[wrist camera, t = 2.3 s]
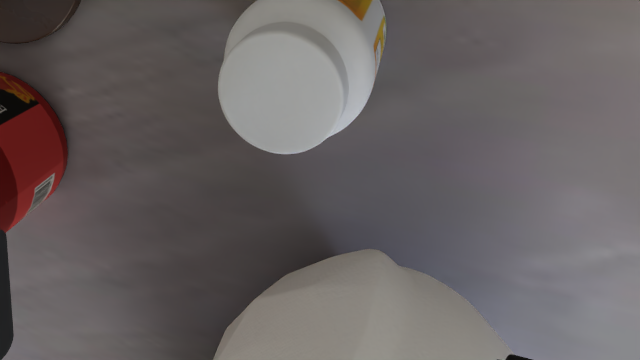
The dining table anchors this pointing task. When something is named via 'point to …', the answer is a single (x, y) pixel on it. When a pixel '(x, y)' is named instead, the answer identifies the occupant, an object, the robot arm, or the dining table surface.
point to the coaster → (33, 18)
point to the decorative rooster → (360, 316)
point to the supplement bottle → (300, 70)
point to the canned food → (27, 150)
